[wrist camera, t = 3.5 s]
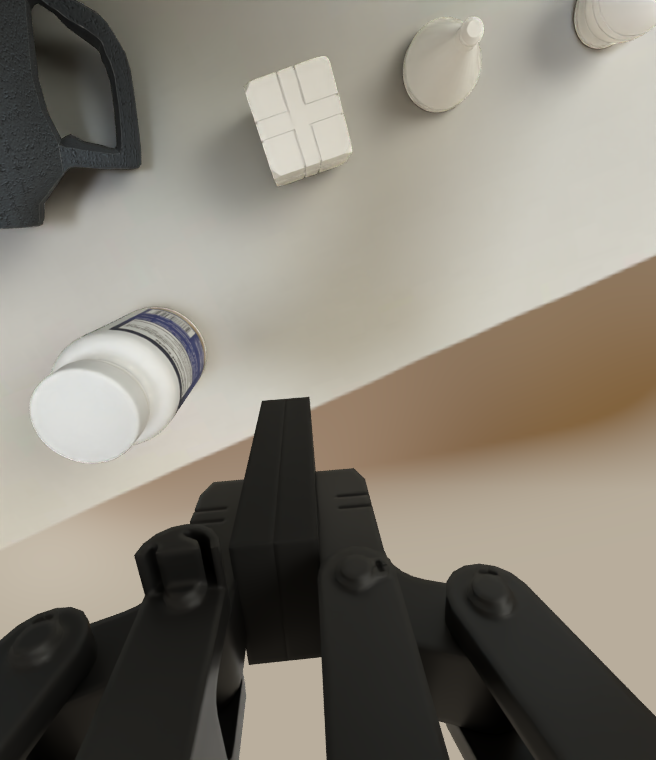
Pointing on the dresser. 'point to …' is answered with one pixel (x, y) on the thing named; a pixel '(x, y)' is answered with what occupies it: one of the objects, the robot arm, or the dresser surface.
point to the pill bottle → (118, 385)
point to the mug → (32, 122)
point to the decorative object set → (421, 79)
